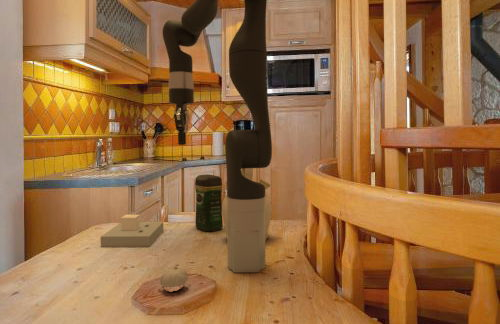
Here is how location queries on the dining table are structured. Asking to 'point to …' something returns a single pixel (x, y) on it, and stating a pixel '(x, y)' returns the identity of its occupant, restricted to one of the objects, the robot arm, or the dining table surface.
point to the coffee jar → (208, 202)
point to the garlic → (174, 277)
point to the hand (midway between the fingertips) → (182, 144)
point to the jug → (268, 208)
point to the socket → (132, 235)
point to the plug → (130, 222)
